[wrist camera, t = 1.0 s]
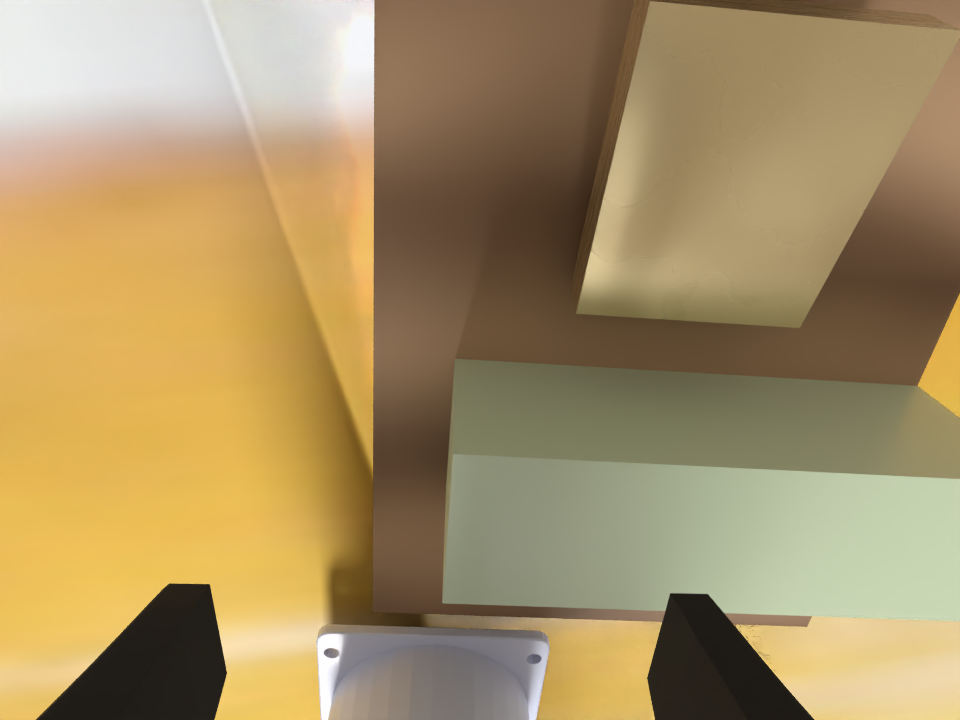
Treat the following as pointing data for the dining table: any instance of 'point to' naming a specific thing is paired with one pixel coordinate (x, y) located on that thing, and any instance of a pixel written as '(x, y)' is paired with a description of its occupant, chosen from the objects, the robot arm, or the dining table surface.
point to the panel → (555, 244)
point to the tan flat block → (746, 153)
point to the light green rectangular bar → (700, 492)
